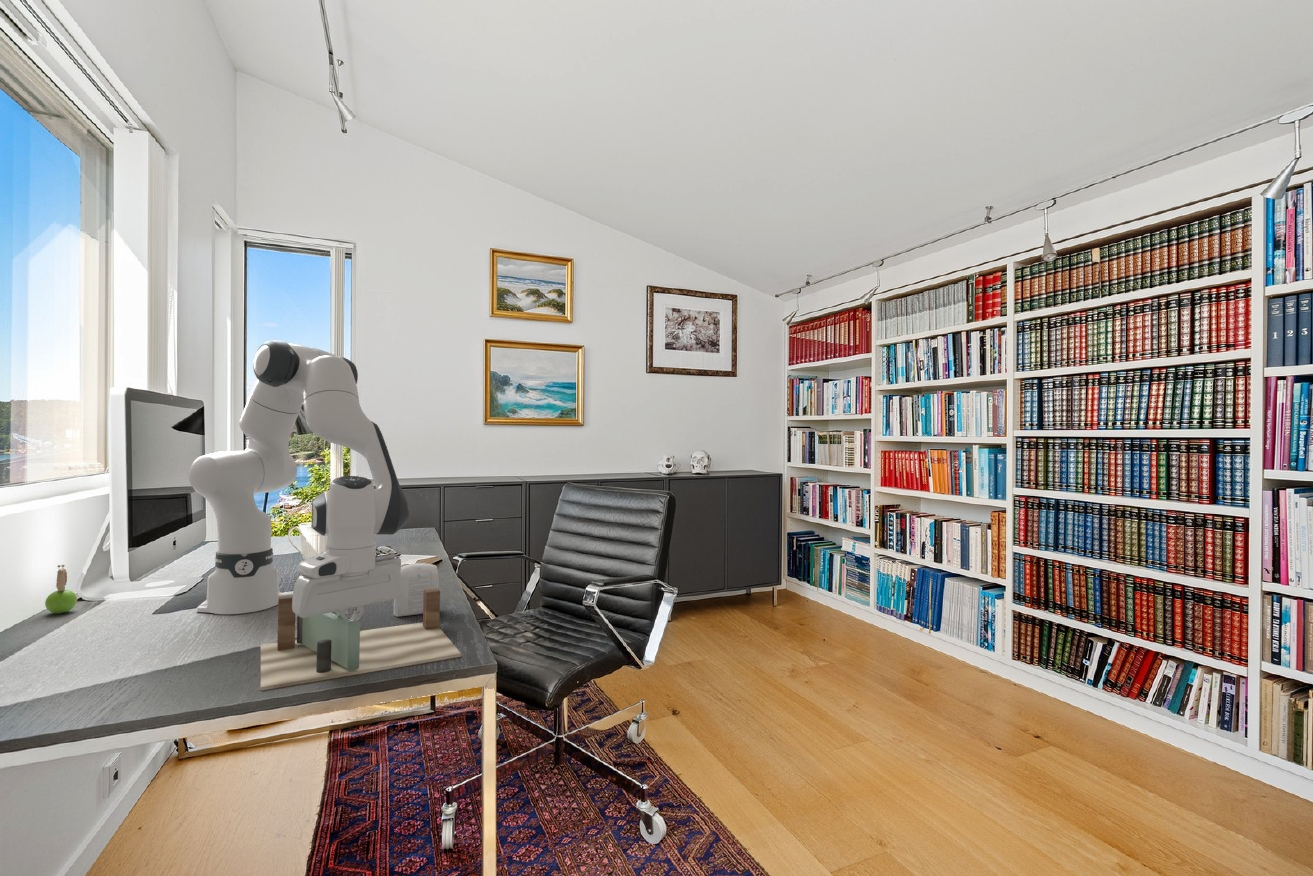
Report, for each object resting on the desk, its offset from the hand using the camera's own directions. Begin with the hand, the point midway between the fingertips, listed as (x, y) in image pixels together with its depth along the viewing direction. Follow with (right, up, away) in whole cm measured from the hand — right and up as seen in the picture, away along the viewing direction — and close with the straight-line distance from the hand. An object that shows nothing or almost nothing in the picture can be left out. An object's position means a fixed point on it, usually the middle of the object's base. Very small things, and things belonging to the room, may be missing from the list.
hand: (349, 629), depth 123 cm
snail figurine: (-79, -4, +23) cm, 83 cm away
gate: (-5, -5, 0) cm, 7 cm away
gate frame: (0, -6, +5) cm, 8 cm away
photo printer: (+1, -6, +32) cm, 32 cm away
